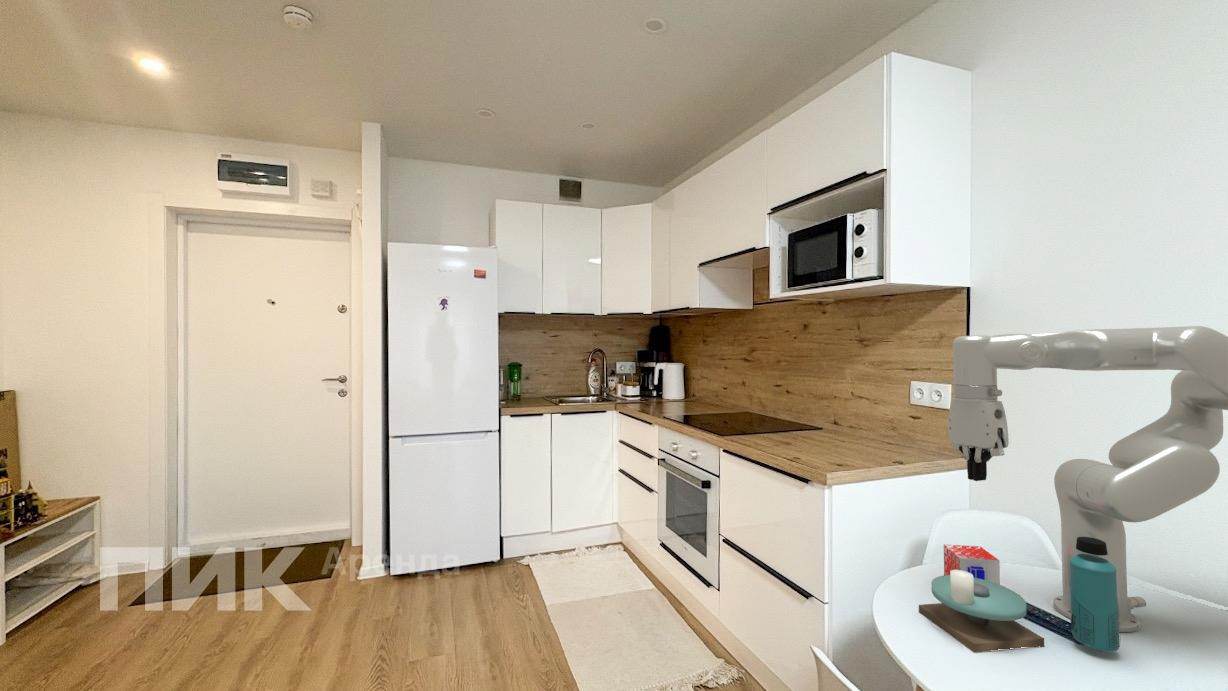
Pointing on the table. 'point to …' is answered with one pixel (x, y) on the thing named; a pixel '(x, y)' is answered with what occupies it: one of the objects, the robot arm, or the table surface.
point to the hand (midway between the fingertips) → (977, 479)
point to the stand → (980, 629)
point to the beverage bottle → (1094, 597)
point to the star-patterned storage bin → (972, 562)
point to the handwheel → (978, 597)
